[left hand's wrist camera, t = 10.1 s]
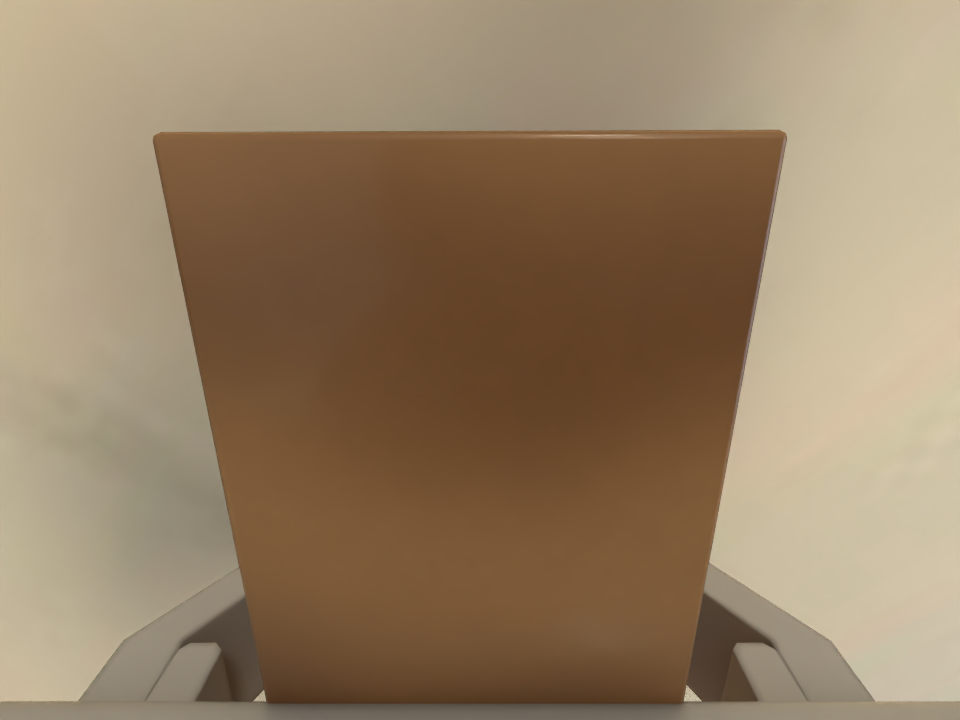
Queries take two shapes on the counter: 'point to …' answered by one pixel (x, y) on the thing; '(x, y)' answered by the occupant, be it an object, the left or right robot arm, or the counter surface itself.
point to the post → (472, 397)
